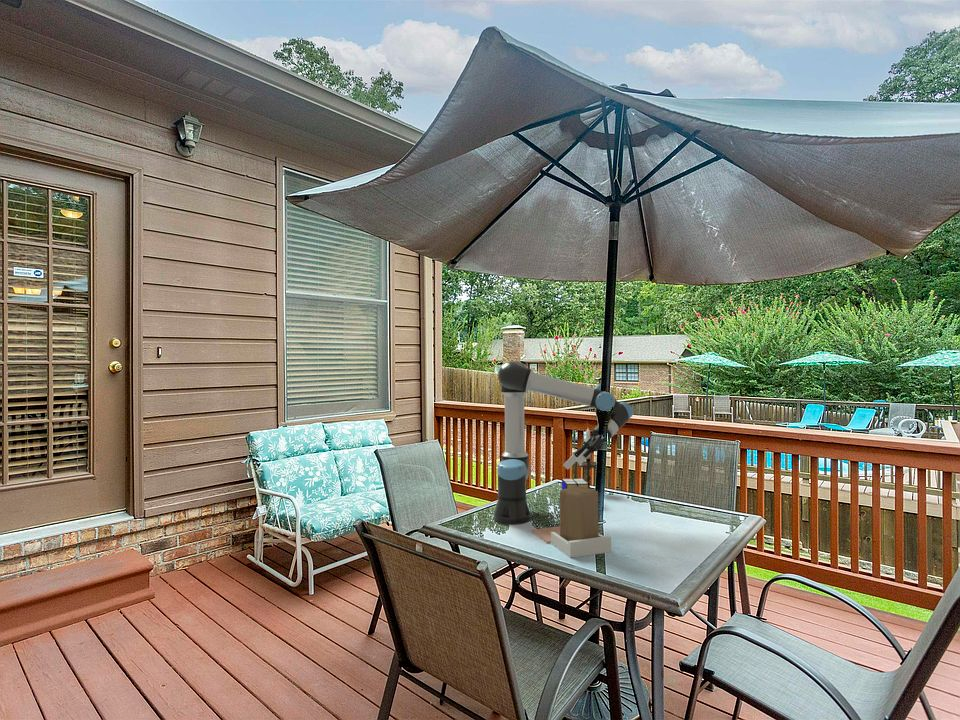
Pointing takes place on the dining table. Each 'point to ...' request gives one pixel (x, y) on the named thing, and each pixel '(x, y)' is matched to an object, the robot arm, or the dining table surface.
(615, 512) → the dining table surface
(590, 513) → the wooden block
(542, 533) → the terracotta mat
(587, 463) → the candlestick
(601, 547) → the lane rack
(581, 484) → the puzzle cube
